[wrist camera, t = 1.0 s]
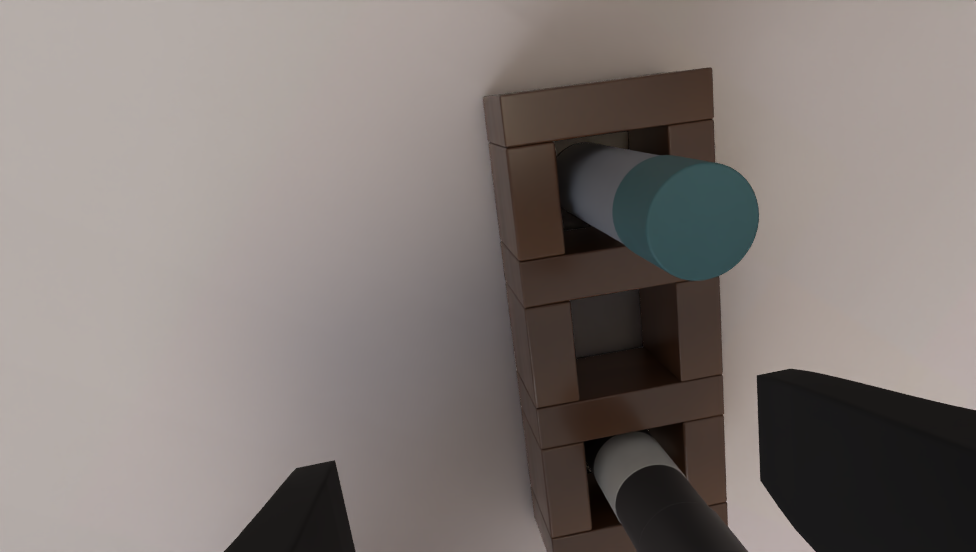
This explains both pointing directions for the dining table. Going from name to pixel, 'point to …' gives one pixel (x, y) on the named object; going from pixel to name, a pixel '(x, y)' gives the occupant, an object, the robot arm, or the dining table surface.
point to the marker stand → (593, 272)
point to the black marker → (655, 497)
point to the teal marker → (662, 206)
